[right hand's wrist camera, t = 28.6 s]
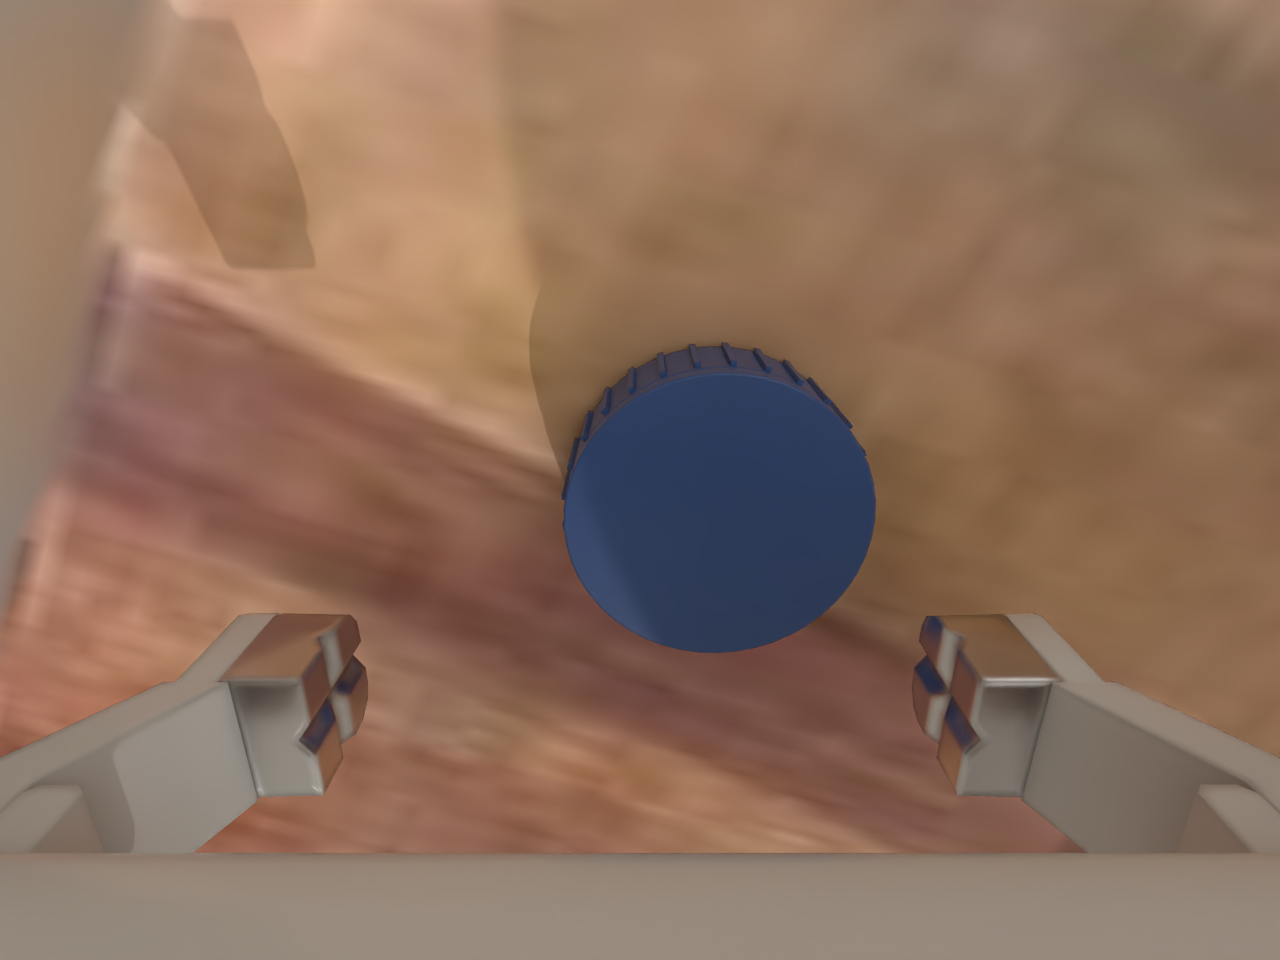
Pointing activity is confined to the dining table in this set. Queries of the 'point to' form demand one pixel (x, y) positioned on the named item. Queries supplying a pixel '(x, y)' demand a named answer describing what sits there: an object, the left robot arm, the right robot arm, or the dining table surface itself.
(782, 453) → the lid
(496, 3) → the dining table surface
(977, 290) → the dining table surface
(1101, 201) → the dining table surface
